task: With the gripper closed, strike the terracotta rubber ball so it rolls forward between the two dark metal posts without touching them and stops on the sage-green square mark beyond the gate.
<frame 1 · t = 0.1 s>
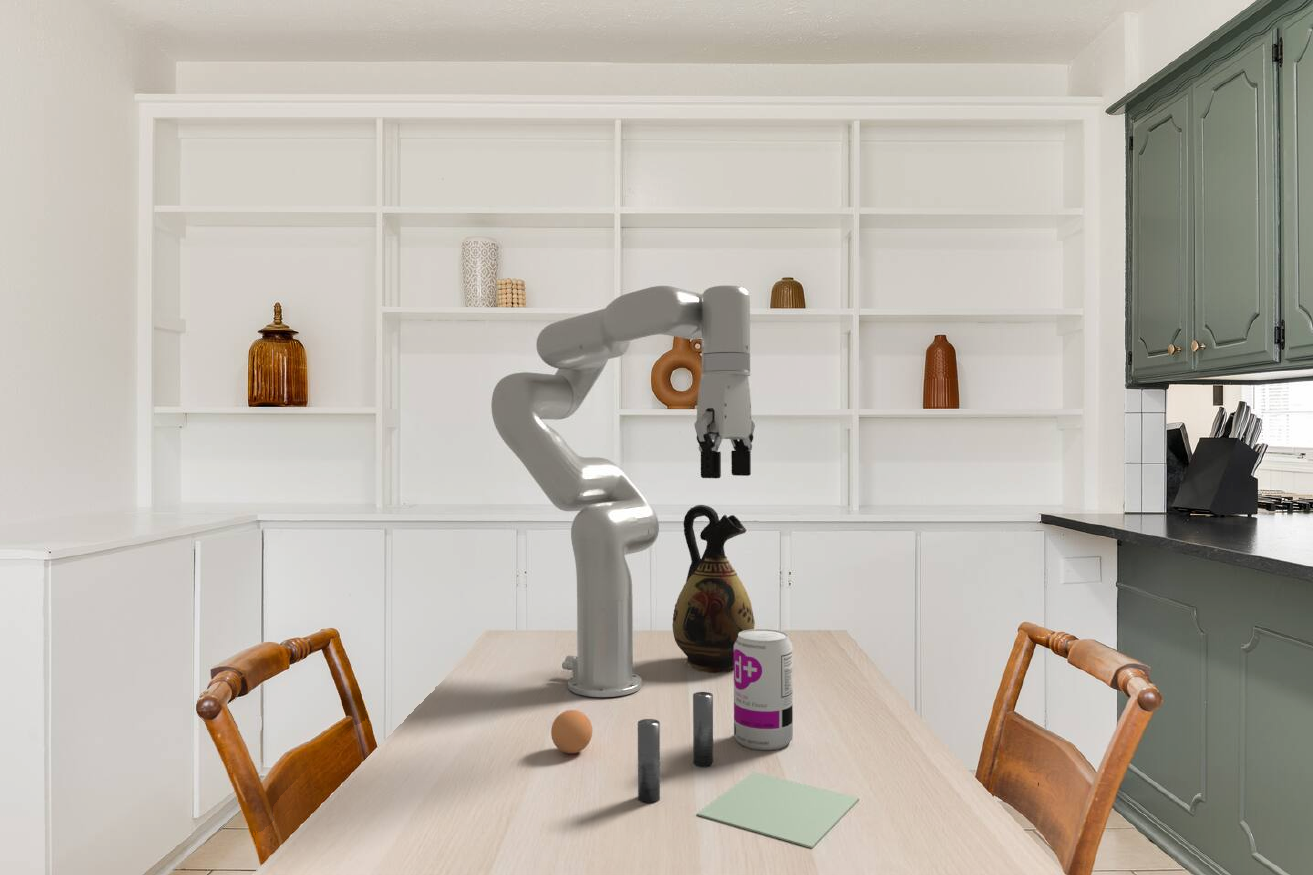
hand: (726, 476, 130), 37 cm above the table, tool pointing down, fingers open, 9 cm apart
ceramic jug: (709, 665, 157), on the table
post 2: (703, 763, 110), on the table
post 1: (648, 798, 99), on the table
supplement can: (763, 742, 118), on the table
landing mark: (779, 806, 97), on the table
ball: (571, 731, 114), on the table
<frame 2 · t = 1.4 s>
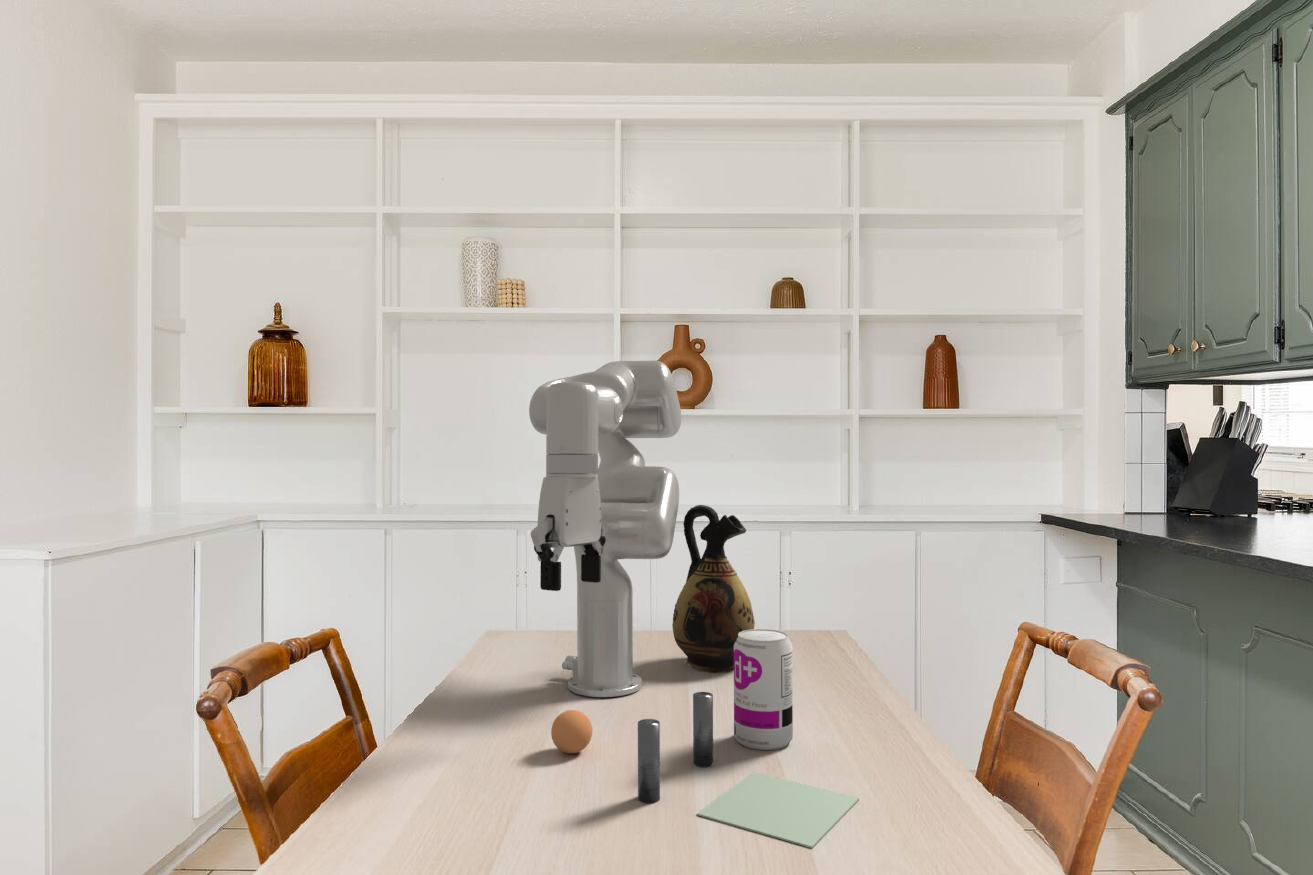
hand: (571, 585, 121), 21 cm above the table, tool pointing down, fingers open, 9 cm apart
nothing on the table moved.
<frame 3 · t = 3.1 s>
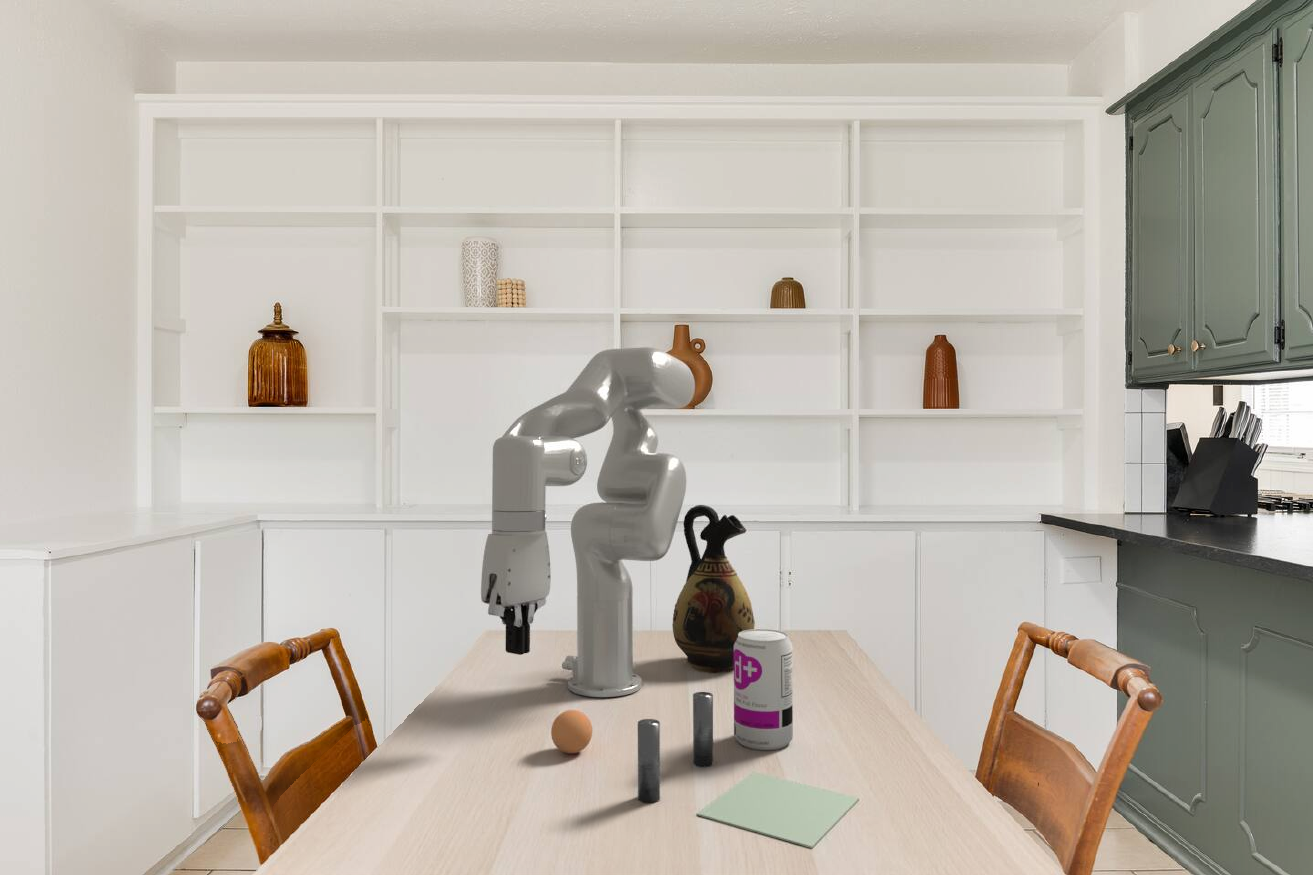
hand: (517, 652, 118), 12 cm above the table, tool pointing down, fingers closed
nothing on the table moved.
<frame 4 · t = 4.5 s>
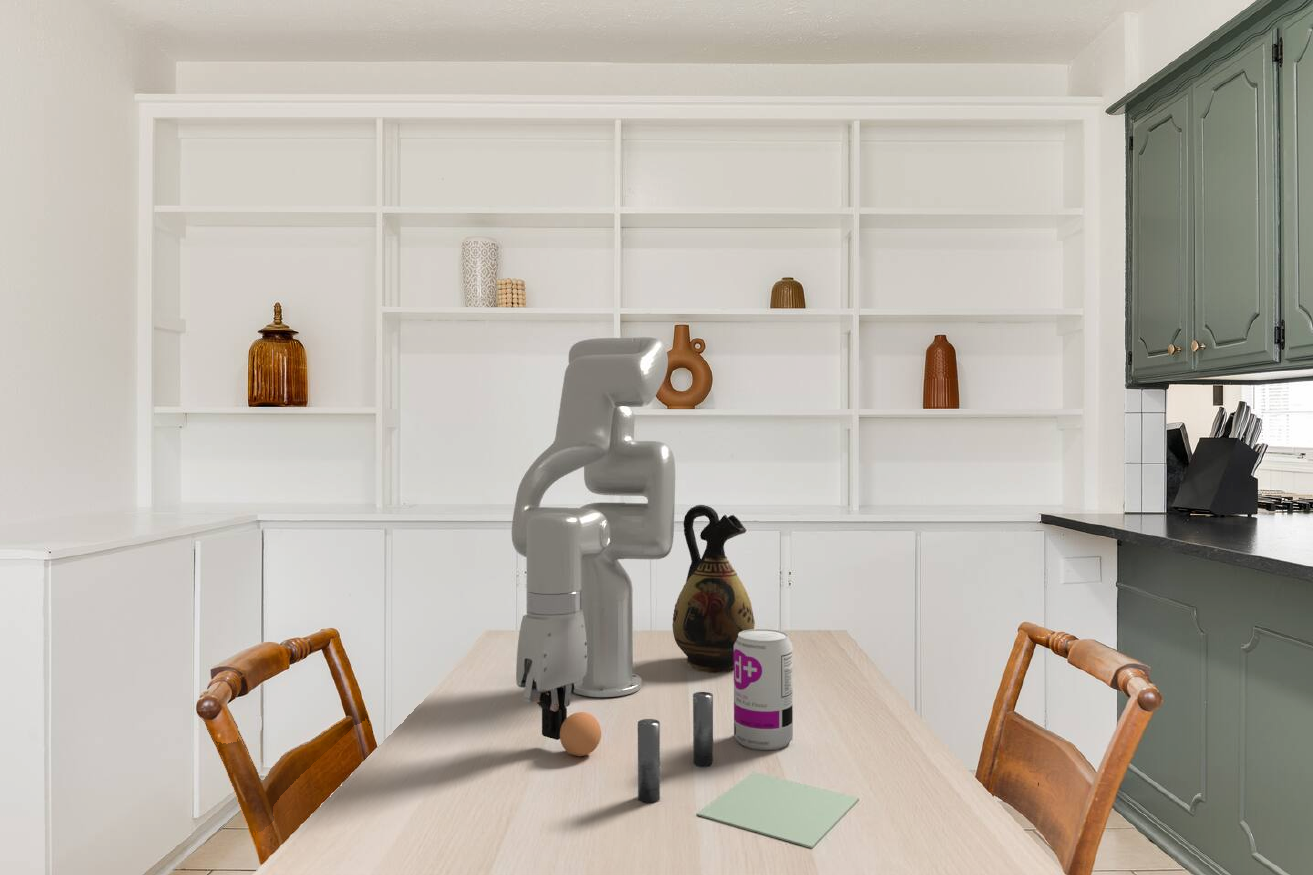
hand: (554, 735, 115), 2 cm above the table, tool pointing down, fingers closed
ball: (580, 733, 113), on the table
everything else where it was.
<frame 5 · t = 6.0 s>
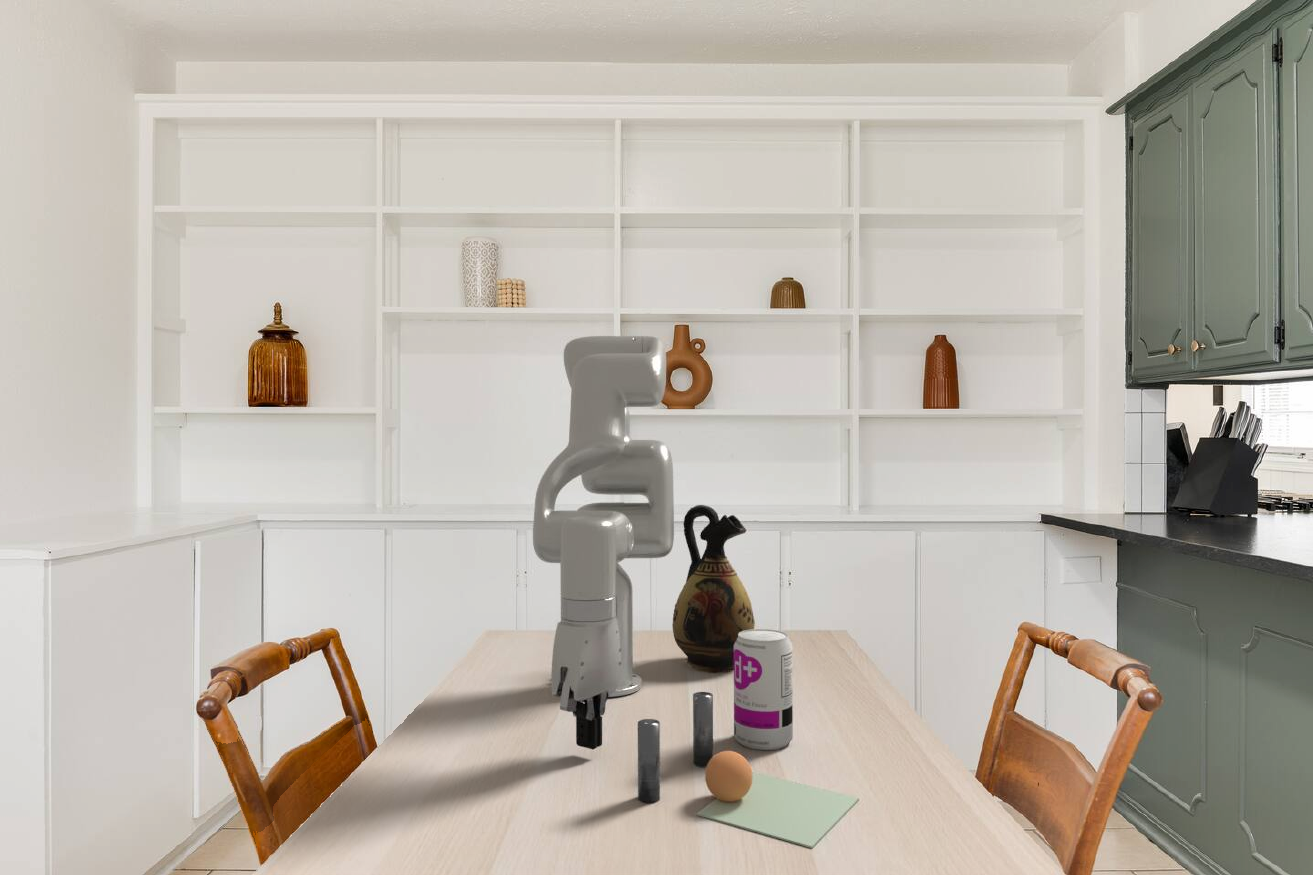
hand: (589, 745, 112), 2 cm above the table, tool pointing down, fingers closed
ball: (728, 775, 99), on the table
everything else where it was.
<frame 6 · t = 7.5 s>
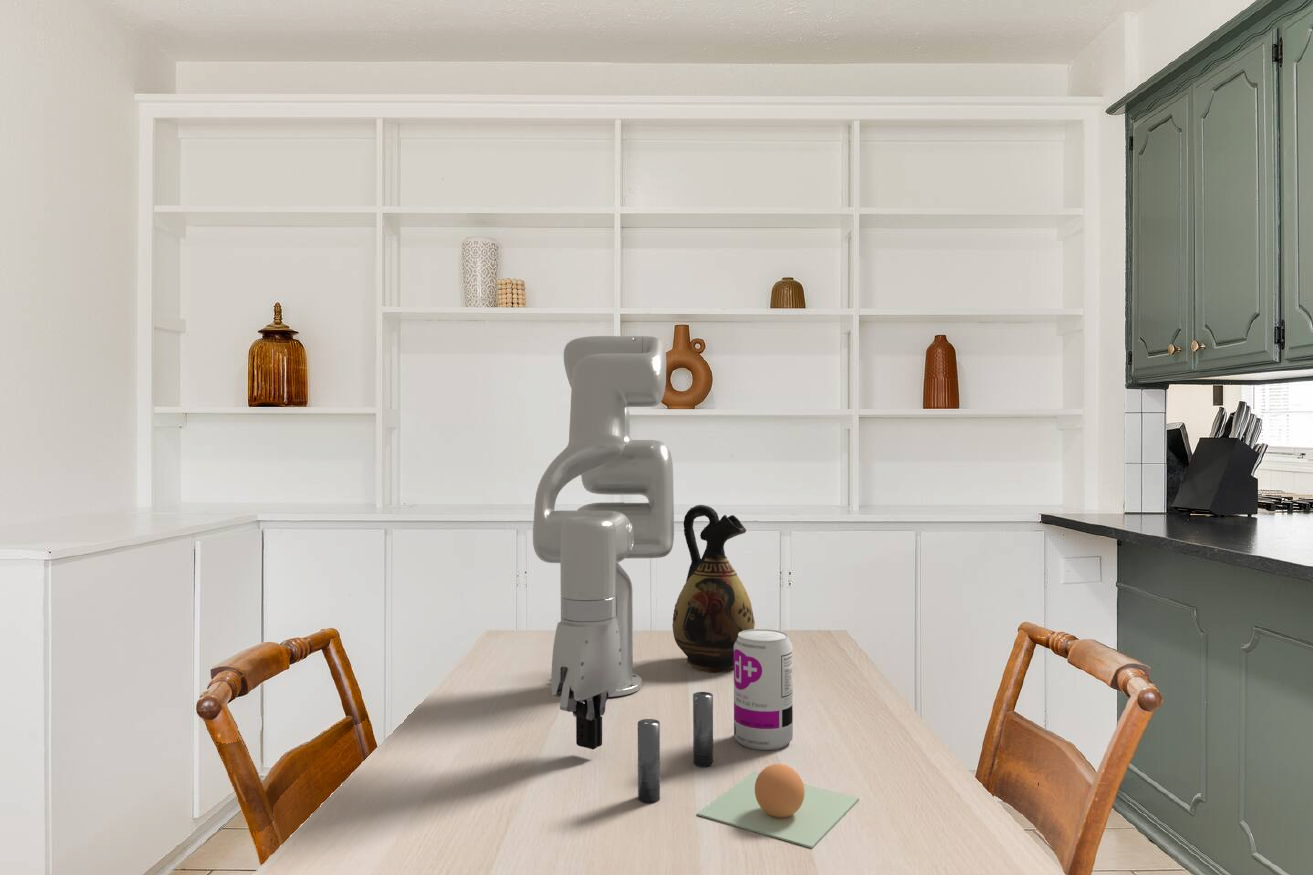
hand: (589, 745, 112), 2 cm above the table, tool pointing down, fingers closed
ball: (779, 790, 95), on the table
everything else where it was.
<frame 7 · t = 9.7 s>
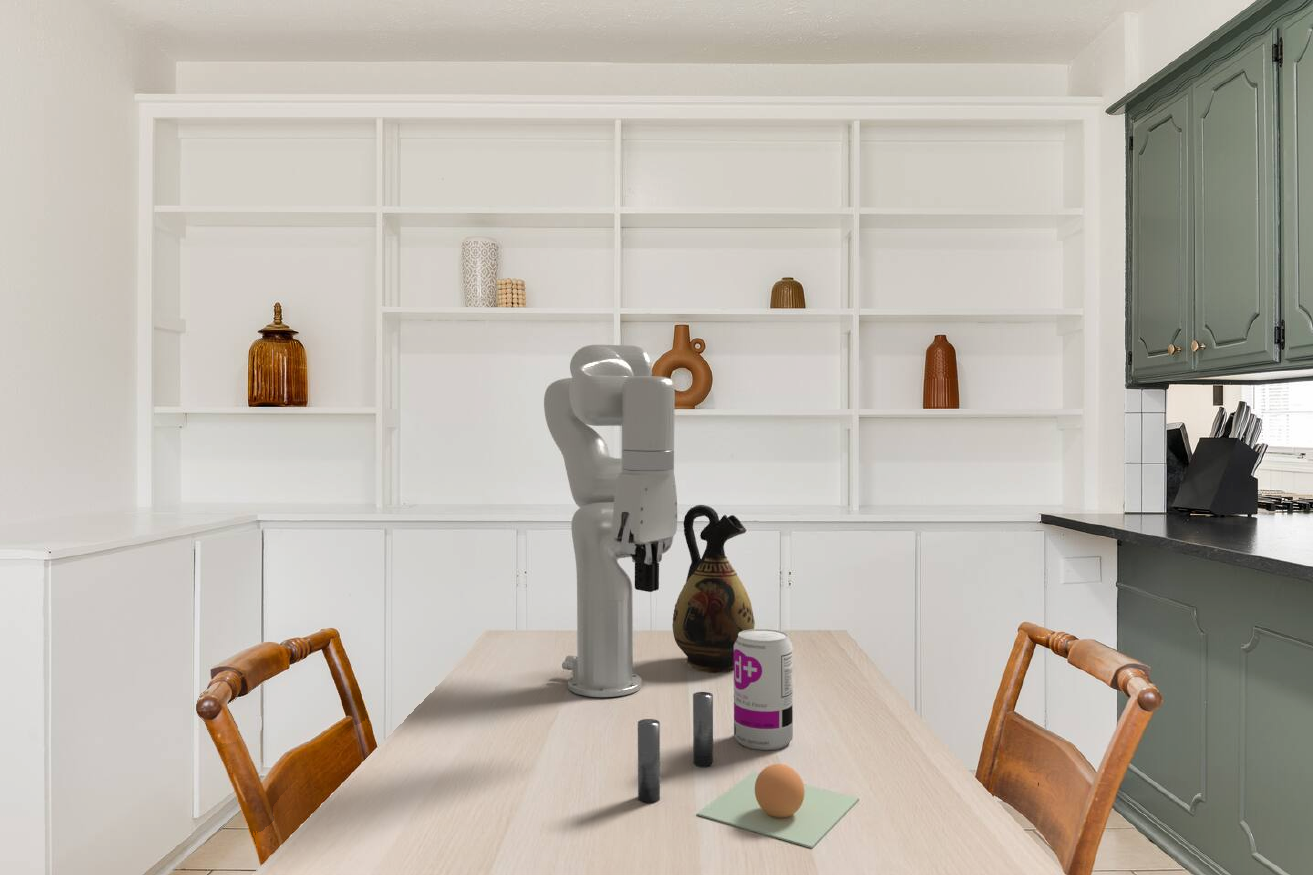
hand: (646, 589, 120), 21 cm above the table, tool pointing down, fingers closed
nothing on the table moved.
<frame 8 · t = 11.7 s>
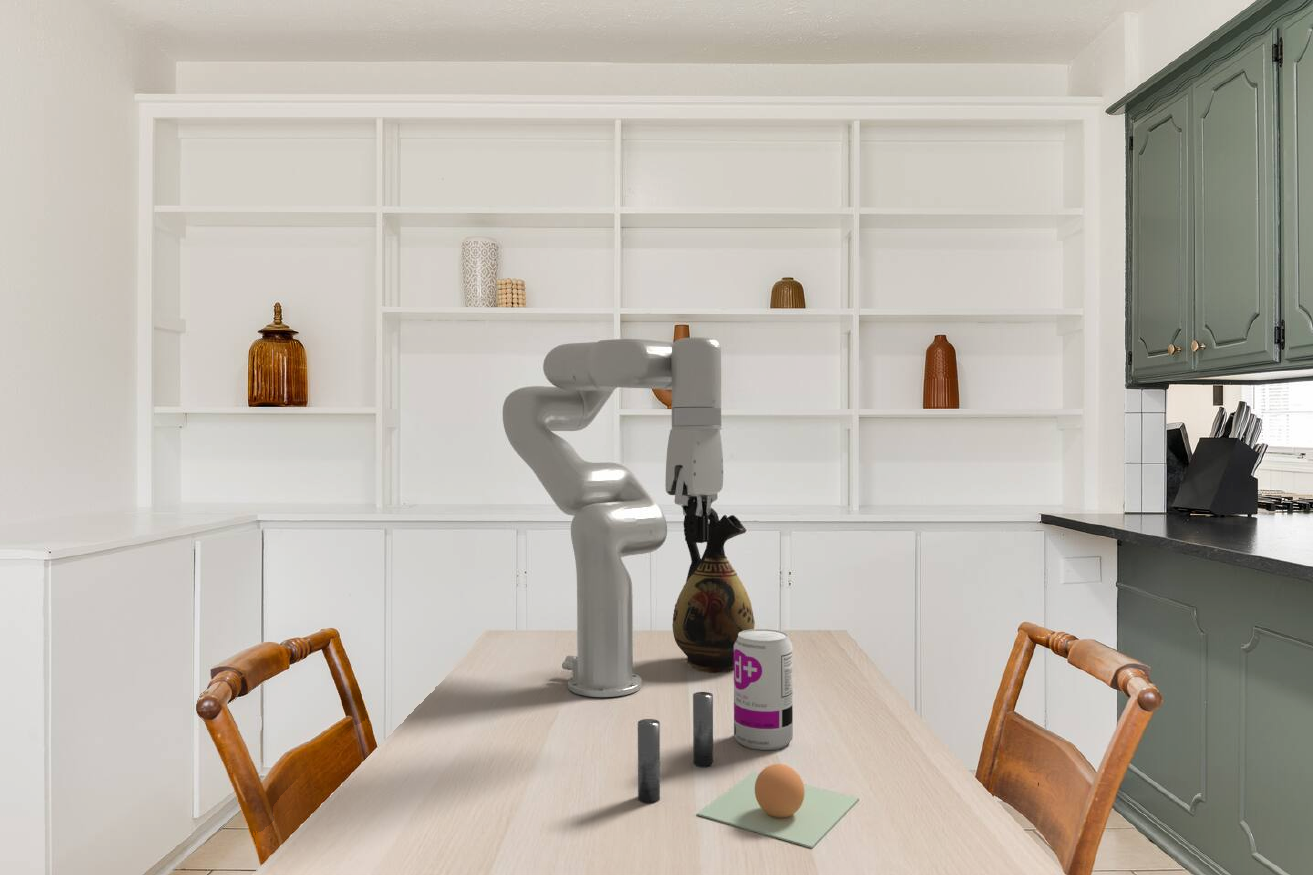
hand: (696, 541, 126), 27 cm above the table, tool pointing down, fingers closed
nothing on the table moved.
at the end: ball 2.1 cm from the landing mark (horizontally); ball never touched post 2; ball never touched post 1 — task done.
